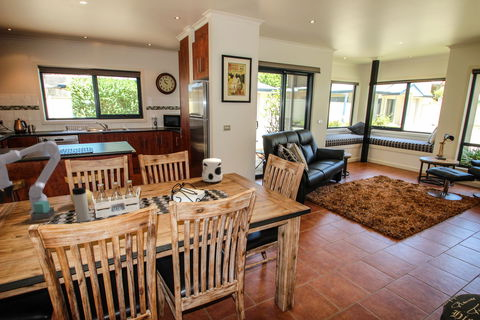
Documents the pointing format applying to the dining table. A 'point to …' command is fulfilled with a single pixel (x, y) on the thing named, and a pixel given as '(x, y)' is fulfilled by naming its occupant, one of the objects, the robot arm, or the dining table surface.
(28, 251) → the dining table surface
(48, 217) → the cup bracket
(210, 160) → the milk container
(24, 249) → the dining table surface
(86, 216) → the travel mug
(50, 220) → the mounting board
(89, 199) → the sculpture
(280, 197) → the dining table surface
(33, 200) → the robot arm
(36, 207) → the teal rectangular block
